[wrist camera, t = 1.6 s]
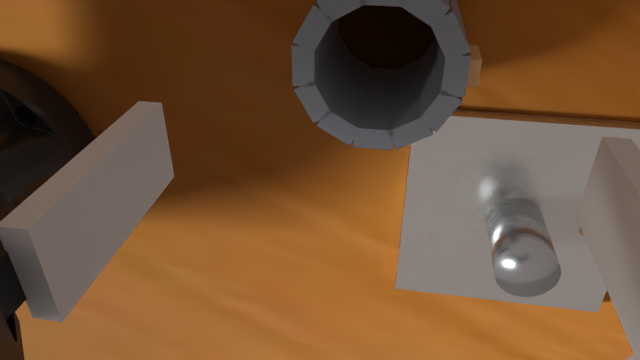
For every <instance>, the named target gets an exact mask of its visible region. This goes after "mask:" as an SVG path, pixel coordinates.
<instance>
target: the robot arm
mask: <svg viewBox="0 0 640 360" xmlns="http://www.w3.org/2000/svg"><path fill="white" fill-rule="evenodd" d="M173 178H174V171H173V166H172V160H171V154H170V148H169V142H168V137H167V131H166V125H165V119H164V113H163V107H162V103H159V102H146V101H138V102H137V103H136V104H135V105H134V106H133V107H131V108H130V109H129V110H128V111H127V112H126V113H125V114H123V115H122V116H121V117H120V118H119V119H118V120H117V121H115V122H114V123H113V124H112V125H111V126H110V127H108V128H107V129H106V130H105V131H104V132H103V133H102V134H100V135H99V136H98V137H97V138H96V139H95V140H94V138H93V136H92V134H91V133H90V131H89V129H88V128H87V126H86V125H85V123H84V122H83V120H82V119H81V118H80V117H79V115H78V114H77V113H76V112H75V111H74V109H73V108H72V107H71V106H70V105H69V104H68V103H67V102H66V101H65V100H64V99H63V98H62V97H61V96H60V95H59V94H58V93H56V92H55V91H54V90H53V89H52V88H50V87H49V86H48V85H46V84H45V83H44V82H42V81H41V80H39V79H38V78H36V77H35V76H33V75H31V74H30V73H28V72H26V71H24V70H22V69H20V68H18V67H16V66H14V65H12V64H9V63H7V62H4V61H1V60H0V360H24V353H23V346H22V338H21V331H20V323H19V320H18V318H17V315H16V313H15V311H16V310H17V309H18V308H19V307H20V306H21V304H22V303H23V302H24V301H25V300H26V302H27V304H28V307H29V309H30V312H31V314H32V317H33V318H38V319H45V320H52V321H59V322H63V320H64V319H65V318H66V316H67V315H68V314H69V313H70V311H71V310H72V309H73V307H74V306H75V305H76V303H77V302H78V301H79V300H80V298H81V297H82V296H83V294H84V293H85V292H86V291H87V289H88V288H89V287H90V285H91V284H92V283H93V281H94V280H95V279H96V278H97V276H98V275H99V274H100V272H101V271H102V270H103V269H104V267H105V266H106V265H107V263H108V262H109V261H110V259H111V258H112V257H113V256H114V254H115V253H116V252H117V250H118V249H119V248H120V247H121V245H122V244H123V243H124V241H125V240H126V239H127V237H128V236H129V235H130V234H131V232H132V231H133V230H134V228H135V227H136V226H137V224H138V223H139V222H140V221H141V219H142V218H143V217H144V215H145V214H146V213H147V212H148V210H149V209H150V208H151V206H152V205H153V204H154V202H155V201H156V200H157V199H158V197H159V196H160V195H161V193H162V192H163V191H164V190H165V188H166V187H167V186H168V184H169V183H170V182H171V180H172V179H173ZM576 217H577V219H578V222H579V224H580V226H581V229H582V231H583V234H584V236H585V238H586V241H587V243H588V246H589V248H590V250H591V253H592V255H593V257H594V260H595V262H596V265H597V267H598V269H599V272H600V274H601V277H602V279H603V281H604V284H605V286H606V289H607V291H608V293H609V296H610V298H611V300H612V303H613V305H614V308H615V310H616V312H617V315H618V317H619V320H620V322H621V324H622V327H623V329H624V332H625V334H626V336H627V339H628V341H629V343H630V346H631V348H632V351H633V353H634V355H635V358H636V360H640V150H639V148H638V147H637V146H636V144H635V143H634V141H633V140H632V139H629V138H616V137H602V139H601V142H600V145H599V148H598V151H597V154H596V157H595V160H594V163H593V166H592V169H591V172H590V175H589V178H588V181H587V184H586V187H585V190H584V193H583V196H582V199H581V203H580V206H579V209H578V212H577V215H576Z"/></svg>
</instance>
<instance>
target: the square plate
mask: <svg viewBox="0 0 640 360" xmlns="http://www.w3.org/2000/svg"><path fill="white" fill-rule="evenodd" d="M602 137H616V138H629V139H632V140H633V141H634V143H635V144H636V146H637V147H638V148H639V150H640V122H631V121H616V120H602V119H588V118H574V117H559V116H545V115H531V114H517V113H503V112H488V111H474V110H460V109H456V110H455V111H454V112H453V113H452V114H451V116H450V117H449V118H448V119H447V120H446V122H445V123H444V124H443V125H442V126H441V128H440V129H439V130H438V131H437V132H435V131H434V130H433V135H431V136H429V137H426V138H424V139H421V140H419V141H416V142H414V143H411V145H410V154H409V163H408V172H407V181H406V190H405V199H404V208H403V217H402V226H401V235H400V244H399V253H398V262H397V271H396V282H395V288H396V289H405V290H413V291H422V292H430V293H439V294H447V295H456V296H464V297H473V298H481V299H490V300H498V301H507V302H515V303H524V304H532V305H541V306H549V307H558V308H566V309H575V310H583V311H592V312H598V311H599V308H600V306H601V304H602V301H603V299H604V296H605V294H606V291H607V289H606V286H605V284H604V281H603V279H602V277H601V274H600V272H599V269H598V267H597V265H596V262H595V260H594V257H593V255H592V253H591V250H590V248H589V246H588V243H587V241H586V238H585V236H584V234H583V231H582V229H581V226H580V224H579V222H578V219H577V217H576V215H577V212H578V209H579V206H580V203H581V199H582V196H583V193H584V190H585V187H586V184H587V181H588V178H589V175H590V172H591V169H592V166H593V163H594V160H595V157H596V154H597V151H598V148H599V145H600V142H601V139H602Z"/></svg>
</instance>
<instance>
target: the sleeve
mask: <svg viewBox="0 0 640 360" xmlns="http://www.w3.org/2000/svg"><path fill="white" fill-rule="evenodd" d="M363 5H377V6H399V7H402V8H404V9H405V10H407V11H408V12H410V13H411V14H413V15H414V16H416V17H417V18H419V19H420V20H422V21H423V22H425V23H426V24H428V25H429V26H431V27H432V30H433V32H434V34H435V36H436V38H435V39H434V41H433V42H432V43H431V45H430V46H429V47H428V49H427V50H426V51H425V53H424V54H423V55H422V57H421V58H420V59H418V60H416V61H413V62H411V63H409V64H407V65H405V66H403V67H401V68H398V69H385V68H371V67H370V66H368V65H367V64H365V63H363V62H362V61H360V60H359V59H357V58H356V57H354V56H352V55H351V54H350V53H349V51H348V49H347V47H346V45H345V43H344V41H343V39H342V38H341V36H340V34H339V32H338V24H339V18H340V17H342V16H344V15H346V14H348V13H349V12H351V11H353V10H355V9H357V8H359V7H361V6H363ZM292 42H294V43H293V44H292V46H291V53H292V86H295V88H294V91H295V93H296V95H297V96H298V98H299V100H300V101H301V103H302V105H303V106H304V108H305V110H306V111H307V113H308V115H309V116H310V118H311V120H312V121H313V123H314V122H316V121H318V123H317V127H319V128H321V129H322V130H324V131H326V132H327V133H329V134H331V135H332V136H334V137H336V138H337V139H339V140H341V141H342V142H344V143H346V144H347V145H350V144H351V143H352V141H353V140H354V144H353V147H359V148H371V149H383V150H392V145H393V144H394V146H395V148H396V150H397V149H399V148H402V147H404V146H407V145H409V144H411V143H414V142H416V141H419V140H421V139H424V138H426V137H429V136H431V135H433V130H434V131H435V132H437V131H438V130H439V129H440V128H441V126H442V125H443V124H444V123H445V122H446V120H447V119H448V118H449V117H450V116H451V114H452V113H453V112H454V111H455V110H456V108H457V107H458V106H459V105H460V104H461V103H462V97H464V96H465V90H466V86H468V87H478V83H479V77H480V71H481V66H482V57H481V53H480V50H479V47H478V45H469V43H468V39H467V35H466V31H465V27H464V23H463V19H462V15H461V12H460V8H459V4H458V1H457V0H316V2H315V3H314V4H313V6H312V8H311V10H310V11H309V13H308V15H307V17H306V18H305V20H304V22H303V24H302V26H301V27H300V29H299V31H298V33H297V34H296V36H295V38H294V40H293V41H292Z"/></svg>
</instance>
